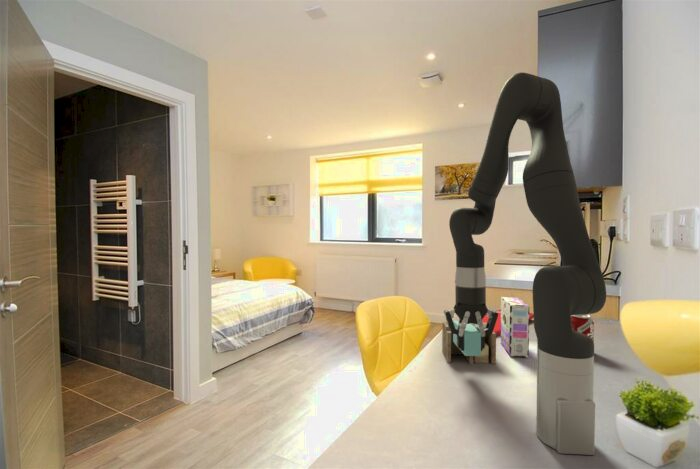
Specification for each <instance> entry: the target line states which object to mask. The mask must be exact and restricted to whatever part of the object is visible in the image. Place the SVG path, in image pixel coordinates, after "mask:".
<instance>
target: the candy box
mask: <svg viewBox="0 0 700 469" xmlns="http://www.w3.org/2000/svg"><path fill="white" fill-rule="evenodd" d="M500 310H501V334H500V344H501V346H502V347H503V349H504V350H505V351H506V353H507V354H508V356H509V357H514V358H526V359H529V357H530V351H529V350H530V349H529V348H530V320H529V313H530V305H528V304H527V303H526V302H525V301H523V300H522V299H520V298H519V297H510V296H500Z"/></svg>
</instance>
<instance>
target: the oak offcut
mask: <svg viewBox="0 0 700 469" xmlns="http://www.w3.org/2000/svg"><path fill="white" fill-rule="evenodd" d="M488 351H489V346H488V345H487V344H486V343H485V348H484V349H482V351H481V356H473V363H489V359H488Z"/></svg>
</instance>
